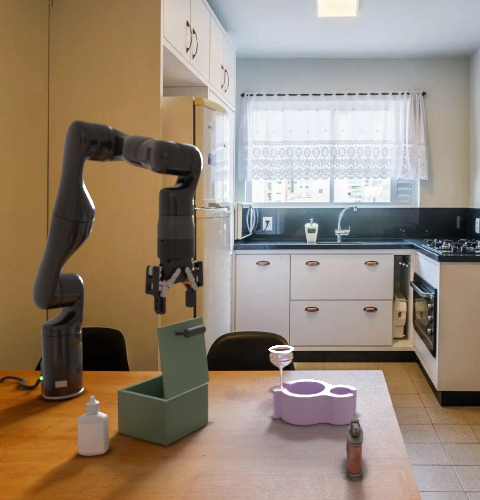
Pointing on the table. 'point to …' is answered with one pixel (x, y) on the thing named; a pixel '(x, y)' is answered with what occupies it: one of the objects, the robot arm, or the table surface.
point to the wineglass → (280, 358)
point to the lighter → (354, 449)
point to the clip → (314, 403)
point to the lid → (183, 356)
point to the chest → (161, 411)
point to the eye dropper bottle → (92, 430)
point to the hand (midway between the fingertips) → (175, 310)
